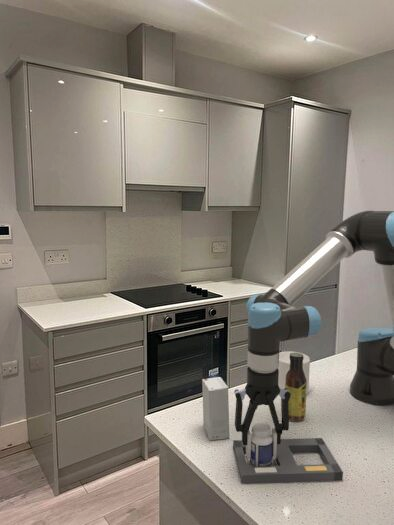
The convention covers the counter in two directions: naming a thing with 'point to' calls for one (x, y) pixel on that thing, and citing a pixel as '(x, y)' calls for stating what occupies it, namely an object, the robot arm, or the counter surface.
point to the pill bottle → (261, 445)
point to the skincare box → (215, 408)
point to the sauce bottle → (296, 387)
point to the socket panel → (289, 463)
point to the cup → (285, 366)
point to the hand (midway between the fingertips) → (260, 455)
